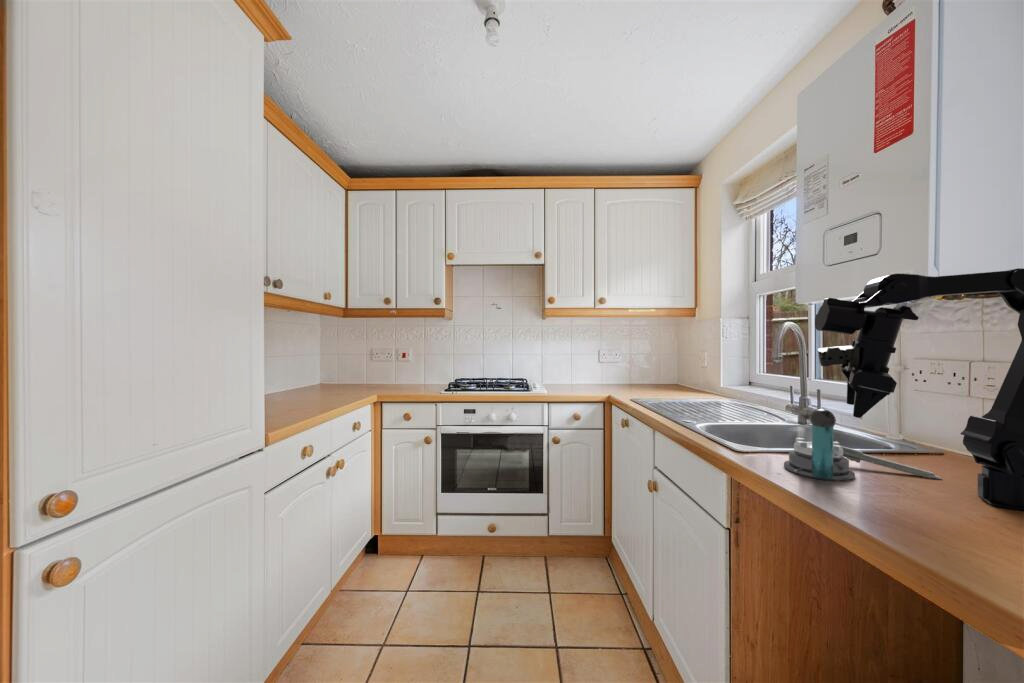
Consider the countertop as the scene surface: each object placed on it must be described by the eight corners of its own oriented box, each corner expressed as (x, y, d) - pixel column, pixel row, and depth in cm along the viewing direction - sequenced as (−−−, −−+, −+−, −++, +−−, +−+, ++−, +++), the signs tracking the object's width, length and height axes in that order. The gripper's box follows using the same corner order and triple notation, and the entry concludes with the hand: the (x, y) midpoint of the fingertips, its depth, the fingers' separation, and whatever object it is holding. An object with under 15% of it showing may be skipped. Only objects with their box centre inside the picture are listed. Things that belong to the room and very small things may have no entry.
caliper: (823, 464, 100) (823, 438, 100) (823, 463, 100) (823, 437, 100) (942, 481, 87) (942, 452, 87) (941, 479, 88) (941, 451, 88)
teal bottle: (839, 463, 94) (840, 402, 94) (851, 483, 81) (852, 412, 81) (793, 457, 99) (793, 399, 99) (797, 475, 86) (797, 408, 86)
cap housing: (849, 468, 95) (850, 454, 95) (859, 485, 84) (859, 468, 84) (783, 459, 102) (783, 446, 102) (784, 474, 91) (784, 458, 91)
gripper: (822, 325, 92) (804, 388, 96) (831, 336, 77) (809, 412, 81) (886, 334, 87) (864, 402, 91) (909, 349, 71) (881, 430, 75)
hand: (853, 410), depth 84 cm, fingers open, 9 cm apart
